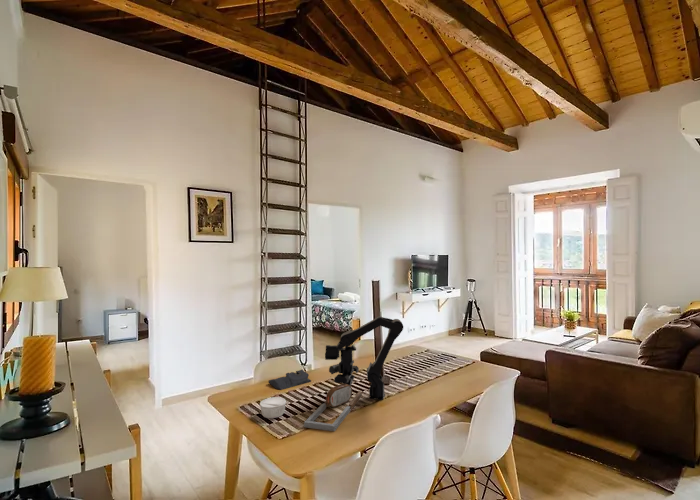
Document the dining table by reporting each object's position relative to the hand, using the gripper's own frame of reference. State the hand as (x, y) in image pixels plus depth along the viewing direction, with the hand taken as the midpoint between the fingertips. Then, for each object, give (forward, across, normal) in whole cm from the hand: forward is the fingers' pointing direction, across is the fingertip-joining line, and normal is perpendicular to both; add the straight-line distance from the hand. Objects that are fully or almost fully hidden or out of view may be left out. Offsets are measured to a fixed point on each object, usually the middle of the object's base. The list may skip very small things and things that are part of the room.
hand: (347, 391), depth 182 cm
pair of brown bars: (+2, +5, 0) cm, 6 cm away
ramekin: (+3, +28, -25) cm, 37 cm away
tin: (+3, +9, 0) cm, 10 cm away
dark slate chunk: (+3, -11, -37) cm, 39 cm away
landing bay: (+2, +24, 0) cm, 24 cm away
